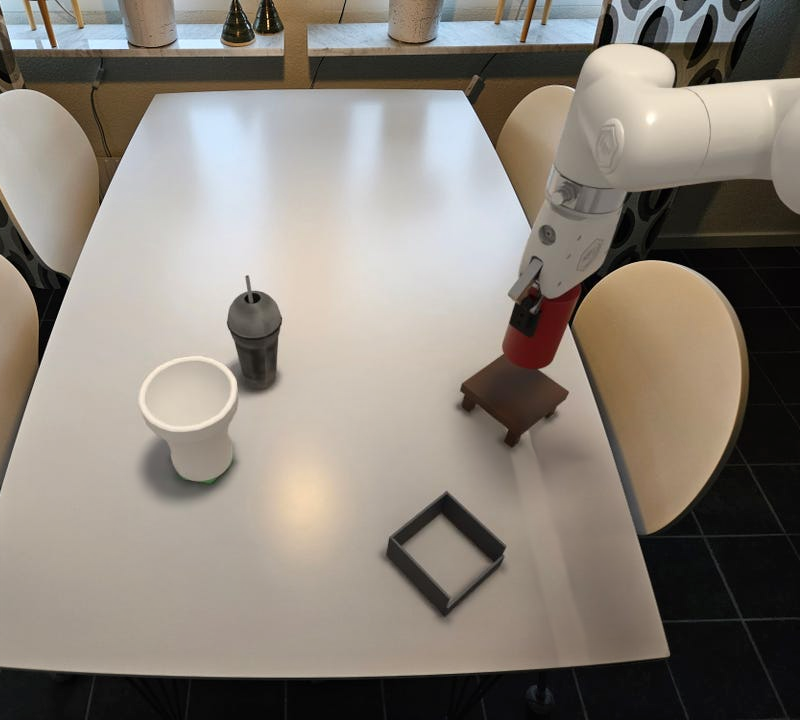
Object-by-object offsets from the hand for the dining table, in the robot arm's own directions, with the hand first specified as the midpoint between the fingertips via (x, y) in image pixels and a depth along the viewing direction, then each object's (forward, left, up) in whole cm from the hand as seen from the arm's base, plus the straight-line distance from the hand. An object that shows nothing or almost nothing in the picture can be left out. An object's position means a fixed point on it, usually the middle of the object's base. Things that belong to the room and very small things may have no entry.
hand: (540, 315), depth 76 cm
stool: (0, 0, -18) cm, 18 cm away
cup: (+19, +37, -18) cm, 46 cm away
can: (0, 0, -6) cm, 6 cm away
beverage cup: (+26, +23, -18) cm, 40 cm away
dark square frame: (-10, +23, -18) cm, 31 cm away
